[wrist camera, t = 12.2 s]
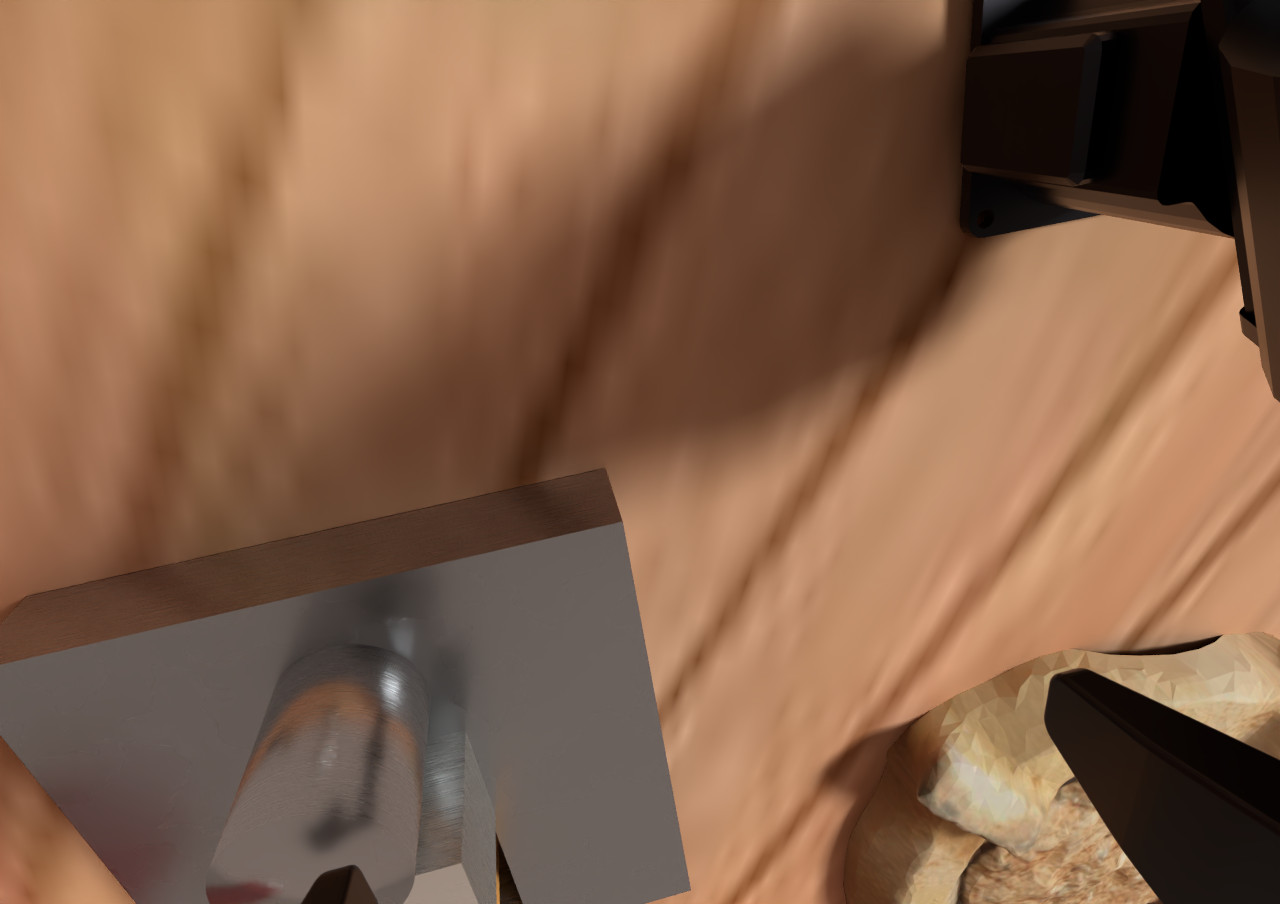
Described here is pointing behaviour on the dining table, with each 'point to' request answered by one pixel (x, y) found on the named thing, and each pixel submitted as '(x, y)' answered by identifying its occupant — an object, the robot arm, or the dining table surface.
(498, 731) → the grey slotted base plate
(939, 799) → the ashtray
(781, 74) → the dining table surface
